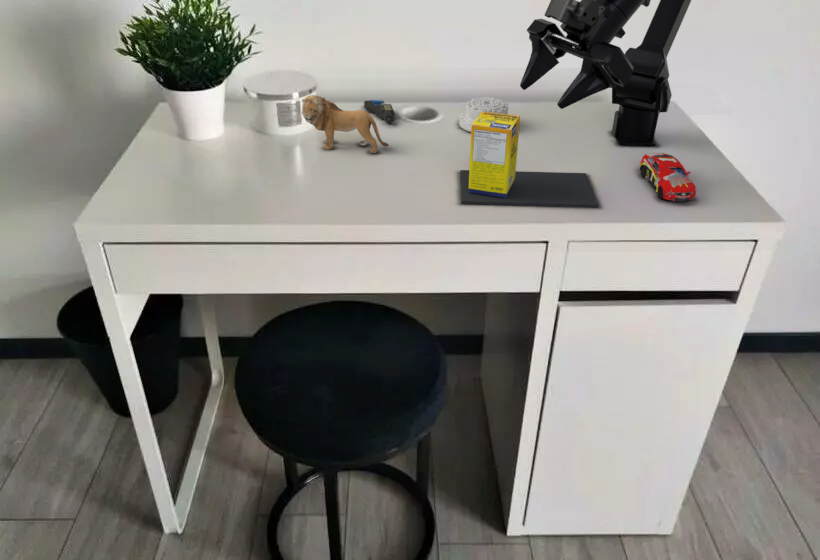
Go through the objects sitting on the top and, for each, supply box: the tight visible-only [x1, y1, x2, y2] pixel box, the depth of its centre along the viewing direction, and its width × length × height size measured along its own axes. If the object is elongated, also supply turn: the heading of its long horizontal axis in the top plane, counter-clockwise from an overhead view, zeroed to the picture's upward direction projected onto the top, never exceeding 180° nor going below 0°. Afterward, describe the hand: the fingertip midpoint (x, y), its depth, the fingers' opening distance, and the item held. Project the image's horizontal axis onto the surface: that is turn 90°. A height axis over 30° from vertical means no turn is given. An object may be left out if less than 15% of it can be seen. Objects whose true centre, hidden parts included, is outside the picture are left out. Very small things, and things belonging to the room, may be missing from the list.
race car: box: [639, 152, 697, 202], centre depth 109 cm, size 13×5×4 cm, turn 2°
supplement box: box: [468, 111, 521, 198], centre depth 105 cm, size 6×6×11 cm
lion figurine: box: [301, 94, 390, 154], centre depth 120 cm, size 15×5×9 cm, turn 86°
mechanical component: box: [458, 96, 510, 133], centre depth 130 cm, size 10×4×10 cm
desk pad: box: [459, 169, 599, 208], centre depth 109 cm, size 20×11×1 cm, turn 87°
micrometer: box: [363, 99, 395, 124], centre depth 135 cm, size 12×2×5 cm
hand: (539, 97), depth 104 cm, fingers open, 9 cm apart
